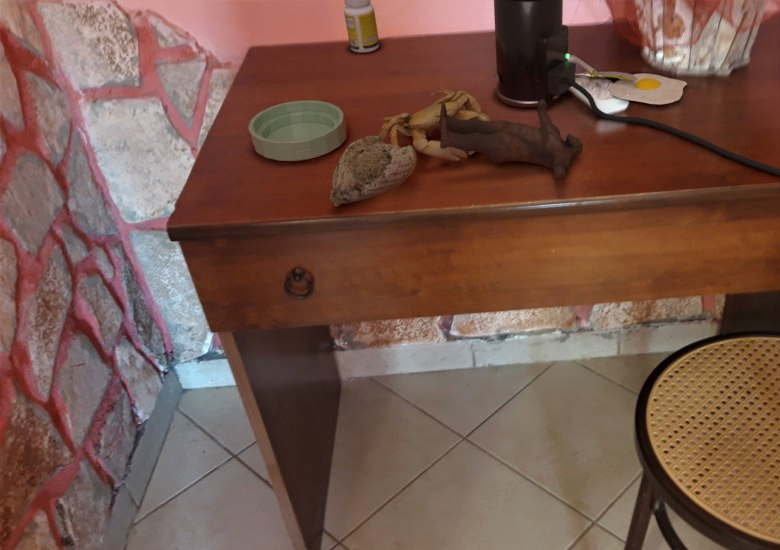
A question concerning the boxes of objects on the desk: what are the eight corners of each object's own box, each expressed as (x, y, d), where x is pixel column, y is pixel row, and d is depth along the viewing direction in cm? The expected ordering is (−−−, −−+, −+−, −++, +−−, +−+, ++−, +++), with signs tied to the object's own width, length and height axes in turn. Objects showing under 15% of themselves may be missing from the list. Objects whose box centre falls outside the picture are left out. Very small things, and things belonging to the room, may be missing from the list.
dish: (366, 134, 104) (363, 112, 102) (300, 173, 96) (295, 151, 94) (301, 113, 109) (297, 92, 107) (234, 149, 101) (228, 128, 99)
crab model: (431, 182, 93) (429, 138, 89) (361, 151, 99) (356, 109, 95) (515, 141, 102) (515, 100, 98) (446, 115, 108) (444, 76, 104)
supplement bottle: (382, 42, 127) (374, -12, 121) (376, 53, 124) (368, -2, 118) (354, 42, 128) (345, -12, 122) (347, 53, 124) (337, -2, 119)
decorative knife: (647, 70, 112) (634, 79, 109) (646, 74, 112) (634, 83, 109) (574, 68, 117) (560, 76, 114) (574, 72, 118) (560, 80, 114)
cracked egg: (627, 70, 117) (628, 62, 116) (698, 80, 112) (699, 72, 111) (598, 95, 110) (598, 87, 109) (672, 107, 105) (672, 98, 105)
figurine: (439, 76, 97) (576, 97, 101) (434, 114, 100) (566, 132, 104) (445, 148, 84) (600, 169, 88) (438, 188, 88) (589, 206, 91)
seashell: (335, 231, 92) (376, 209, 84) (297, 182, 90) (336, 154, 82) (394, 184, 98) (437, 159, 91) (360, 136, 96) (402, 107, 88)
